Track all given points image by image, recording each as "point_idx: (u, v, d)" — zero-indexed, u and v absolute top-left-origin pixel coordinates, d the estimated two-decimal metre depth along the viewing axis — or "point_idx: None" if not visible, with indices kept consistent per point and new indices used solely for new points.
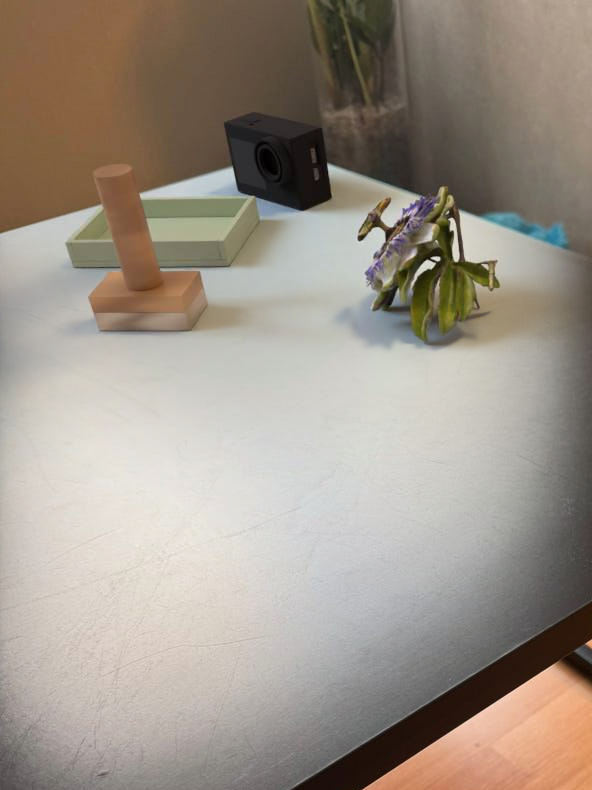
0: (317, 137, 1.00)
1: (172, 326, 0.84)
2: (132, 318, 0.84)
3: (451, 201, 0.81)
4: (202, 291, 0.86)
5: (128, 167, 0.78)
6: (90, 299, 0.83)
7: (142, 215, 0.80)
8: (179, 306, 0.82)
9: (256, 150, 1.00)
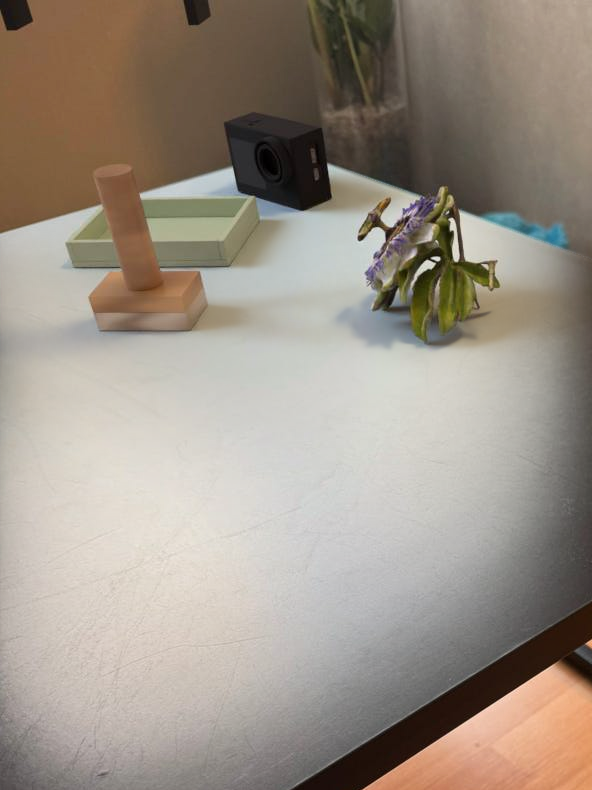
0: (317, 137, 1.00)
1: (172, 326, 0.84)
2: (132, 318, 0.84)
3: (451, 201, 0.81)
4: (202, 291, 0.86)
5: (128, 167, 0.78)
6: (90, 299, 0.83)
7: (142, 215, 0.80)
8: (179, 306, 0.82)
9: (256, 150, 1.00)
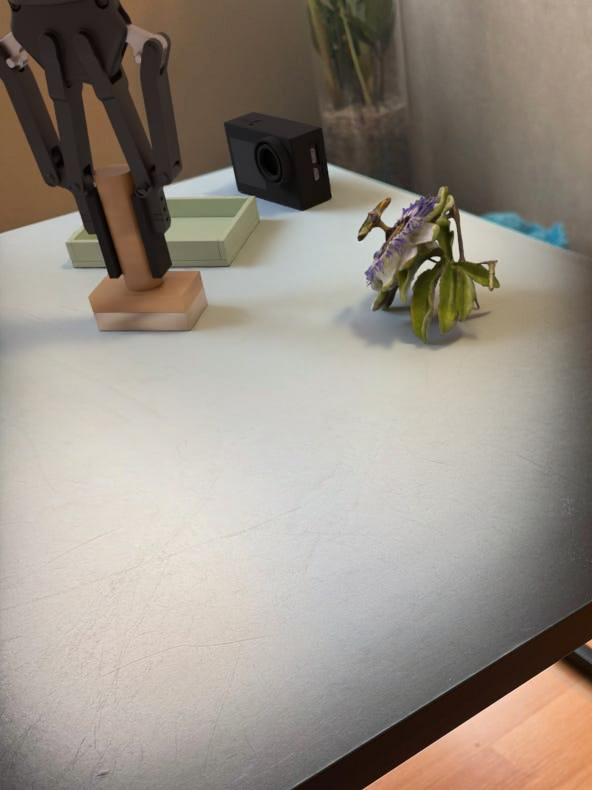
0: (317, 137, 1.00)
1: (172, 326, 0.84)
2: (131, 318, 0.84)
3: (451, 201, 0.81)
4: (202, 291, 0.86)
5: (128, 167, 0.78)
6: (90, 299, 0.83)
7: None
8: (179, 306, 0.82)
9: (256, 150, 1.00)
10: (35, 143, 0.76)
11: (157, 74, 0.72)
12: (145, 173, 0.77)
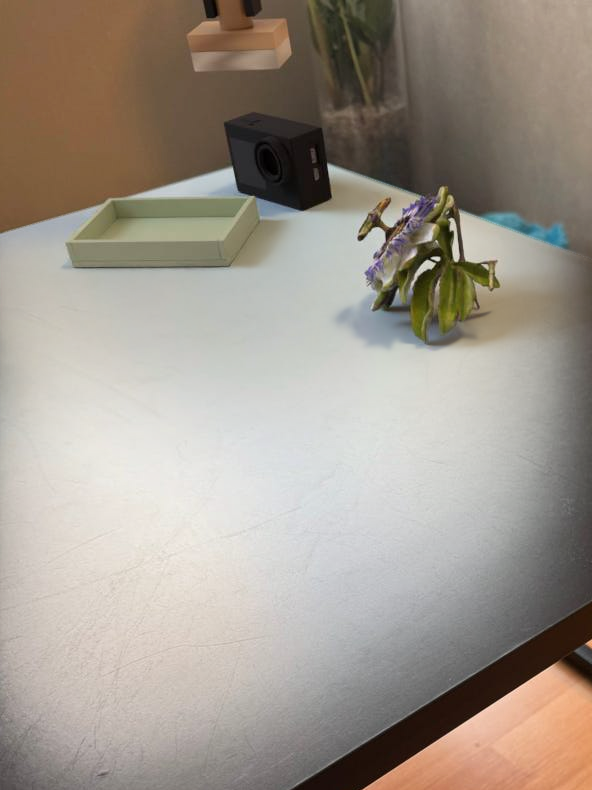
0: (317, 137, 1.00)
1: (262, 64, 0.92)
2: (225, 56, 0.92)
3: (451, 201, 0.81)
4: (287, 39, 0.94)
5: None
6: (188, 37, 0.91)
7: None
8: (270, 42, 0.90)
9: (256, 150, 1.00)
10: None
11: None
12: None
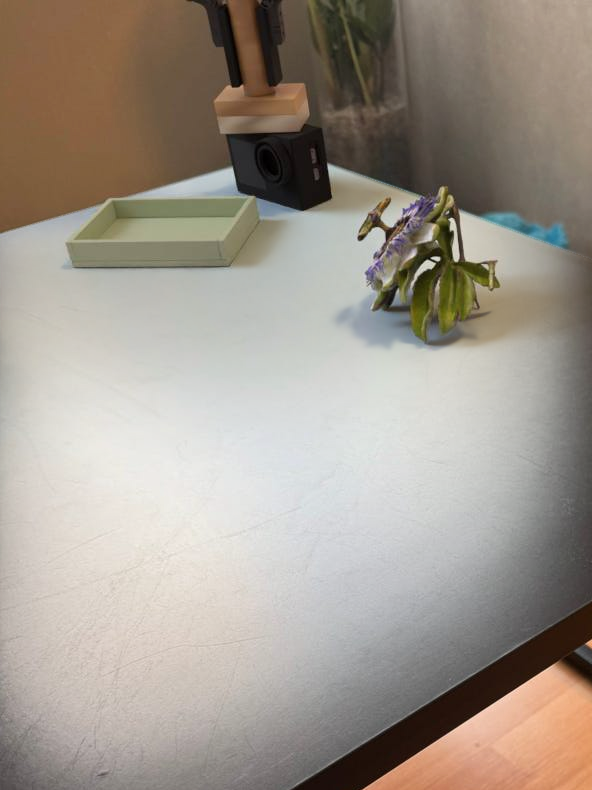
0: (317, 137, 1.00)
1: (284, 128, 0.99)
2: (250, 121, 0.99)
3: (451, 201, 0.81)
4: (306, 102, 1.01)
5: None
6: (215, 104, 0.98)
7: None
8: (291, 108, 0.98)
9: (256, 150, 1.00)
10: None
11: None
12: None
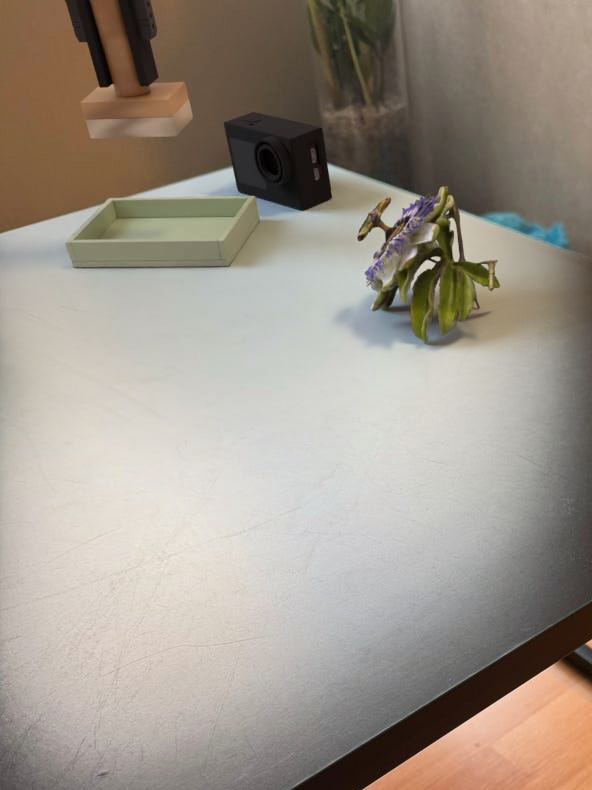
0: (317, 137, 1.00)
1: (160, 132, 0.89)
2: (121, 124, 0.89)
3: (451, 201, 0.81)
4: (187, 103, 0.91)
5: None
6: (82, 105, 0.88)
7: None
8: (166, 110, 0.88)
9: (256, 150, 1.00)
10: None
11: None
12: None
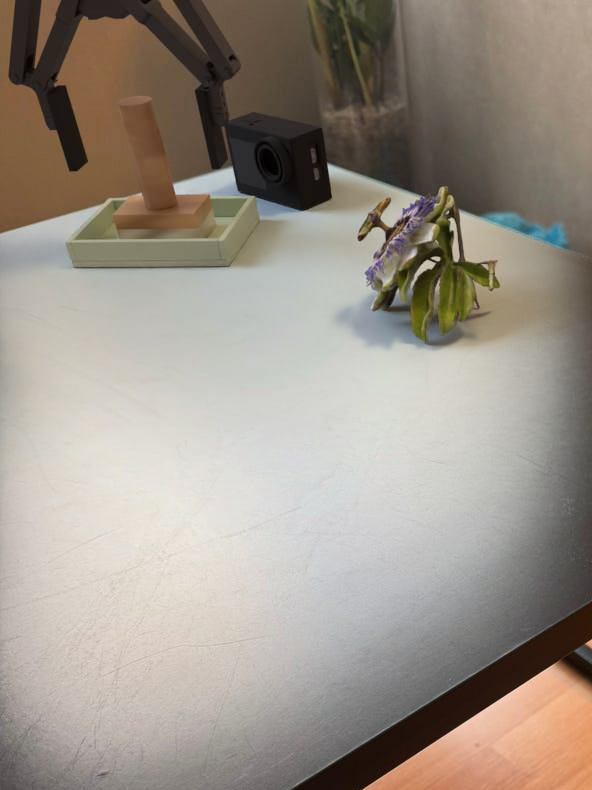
0: (317, 137, 1.00)
1: None
2: (150, 234, 0.95)
3: (451, 201, 0.81)
4: (211, 212, 0.98)
5: (148, 98, 0.90)
6: (114, 217, 0.95)
7: (160, 141, 0.92)
8: (192, 222, 0.94)
9: (256, 150, 1.00)
10: (17, 46, 0.86)
11: None
12: (203, 68, 0.86)
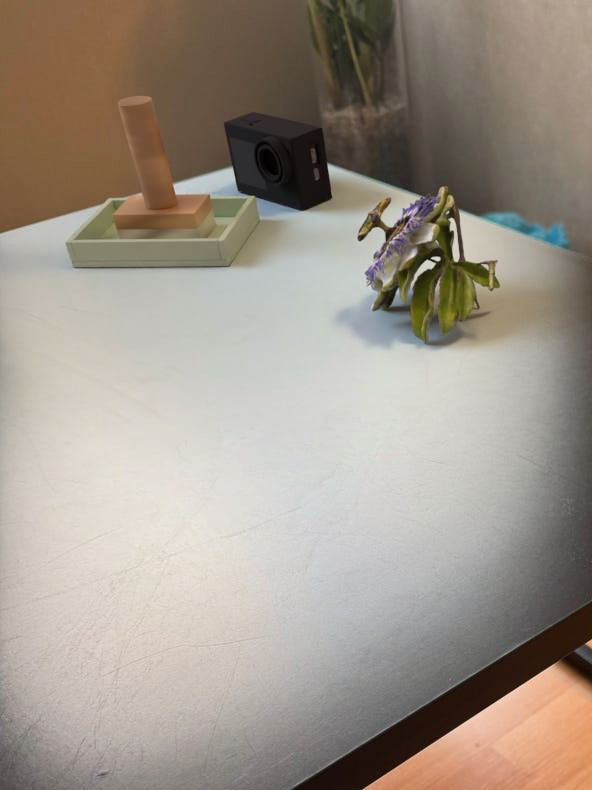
0: (317, 137, 1.00)
1: None
2: (150, 234, 0.95)
3: (451, 201, 0.81)
4: (211, 212, 0.98)
5: (148, 98, 0.90)
6: (114, 217, 0.95)
7: (160, 141, 0.92)
8: (192, 222, 0.94)
9: (256, 150, 1.00)
10: None
11: None
12: None
